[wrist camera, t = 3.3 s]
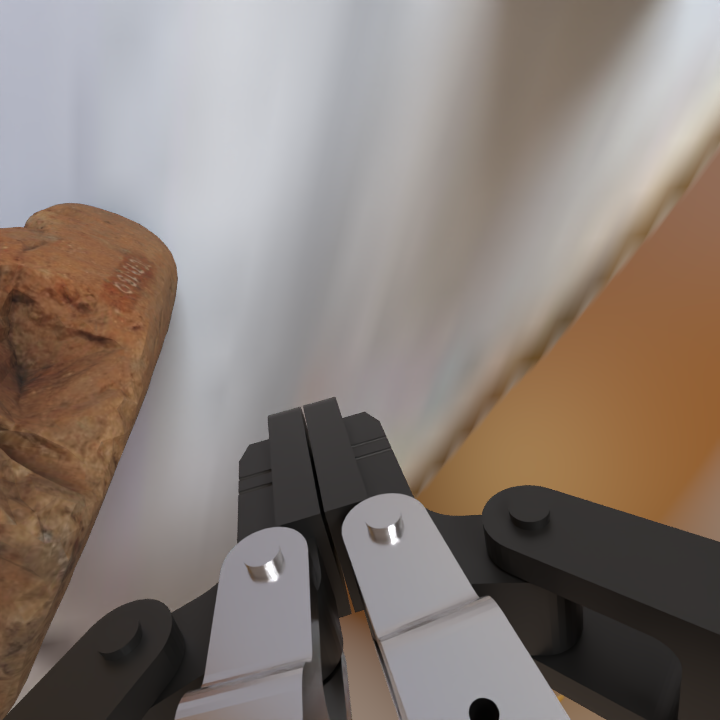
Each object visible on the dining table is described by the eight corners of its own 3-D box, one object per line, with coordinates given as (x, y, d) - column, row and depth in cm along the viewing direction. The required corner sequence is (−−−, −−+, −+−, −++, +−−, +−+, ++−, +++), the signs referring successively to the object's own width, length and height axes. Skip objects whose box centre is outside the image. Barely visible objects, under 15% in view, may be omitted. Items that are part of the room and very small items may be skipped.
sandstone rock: (121, 413, 30) (-24, 818, 12) (-25, 361, 27) (-486, 790, 10) (204, 246, 28) (173, 450, 10) (53, 169, 25) (-369, 263, 7)
